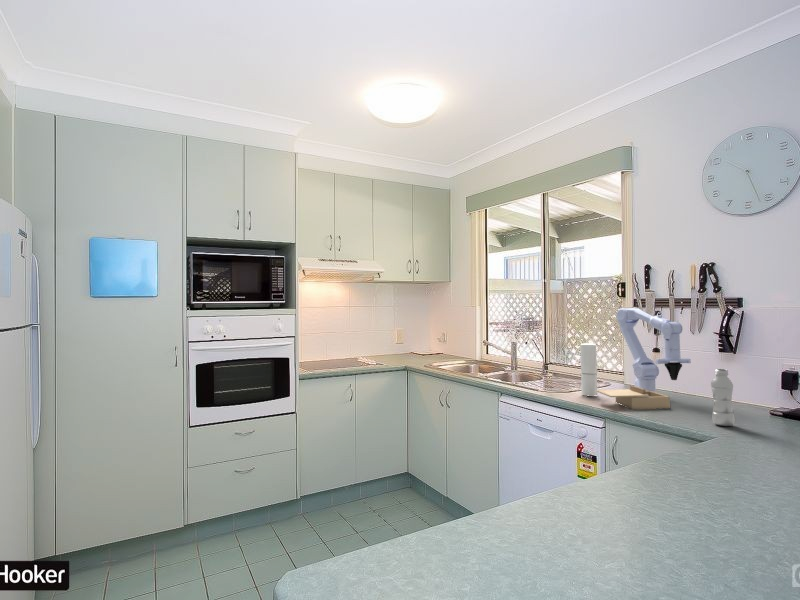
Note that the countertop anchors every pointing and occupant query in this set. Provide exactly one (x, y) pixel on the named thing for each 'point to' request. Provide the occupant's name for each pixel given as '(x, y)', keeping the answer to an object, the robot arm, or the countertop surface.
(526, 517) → the countertop surface
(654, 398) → the mailer box
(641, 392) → the lid
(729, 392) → the plastic bottle
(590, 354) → the cylindrical container
